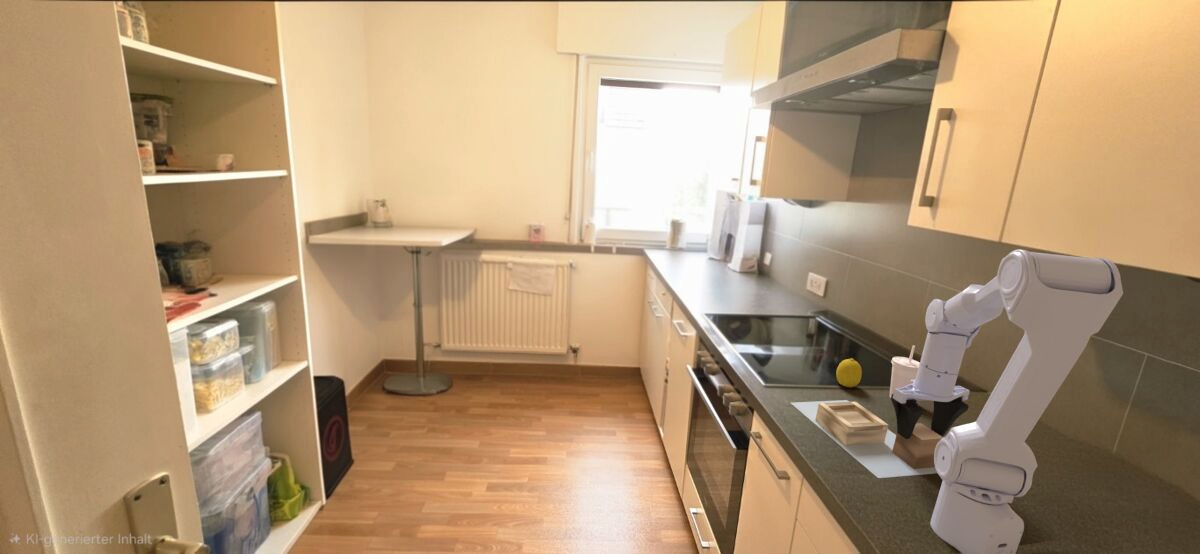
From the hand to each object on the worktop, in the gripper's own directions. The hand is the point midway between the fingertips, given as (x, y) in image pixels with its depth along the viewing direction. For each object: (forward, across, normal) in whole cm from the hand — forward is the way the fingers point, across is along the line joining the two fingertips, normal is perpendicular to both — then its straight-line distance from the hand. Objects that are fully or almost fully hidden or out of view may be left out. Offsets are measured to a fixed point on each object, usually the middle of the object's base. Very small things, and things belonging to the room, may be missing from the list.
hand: (920, 434), depth 87 cm
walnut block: (+5, 0, 0) cm, 5 cm away
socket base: (+5, +6, -10) cm, 13 cm away
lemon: (+6, -9, -29) cm, 31 cm away
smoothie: (+6, -19, -23) cm, 30 cm away
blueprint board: (+6, +4, -9) cm, 12 cm away
